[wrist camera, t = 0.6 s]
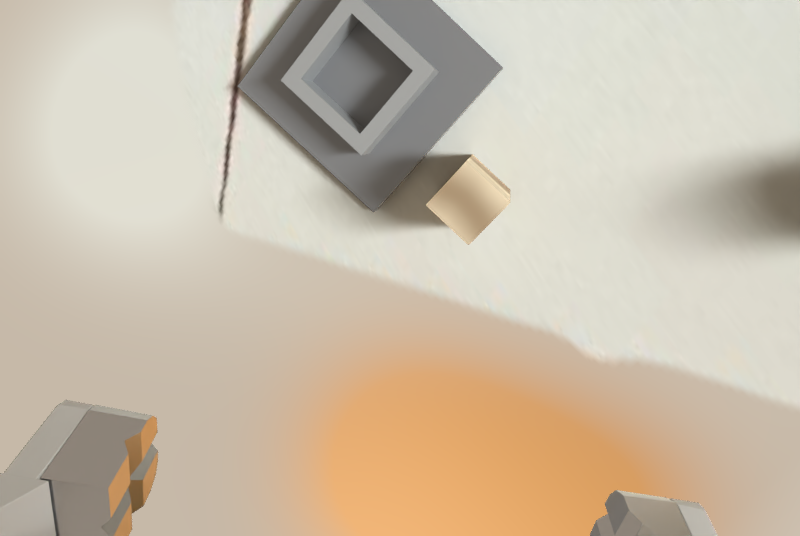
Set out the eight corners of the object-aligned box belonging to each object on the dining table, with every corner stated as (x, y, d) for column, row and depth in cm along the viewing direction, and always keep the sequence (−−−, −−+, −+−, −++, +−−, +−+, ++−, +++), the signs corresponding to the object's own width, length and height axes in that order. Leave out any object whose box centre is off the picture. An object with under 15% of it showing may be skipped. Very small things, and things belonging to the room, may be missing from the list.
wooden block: (472, 154, 51) (466, 161, 43) (510, 189, 51) (510, 202, 44) (437, 192, 52) (425, 205, 45) (474, 226, 52) (468, 245, 45)
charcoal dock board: (358, -69, 48) (344, -86, 44) (502, 68, 49) (502, 64, 45) (243, 86, 53) (221, 84, 49) (376, 210, 54) (365, 217, 50)
